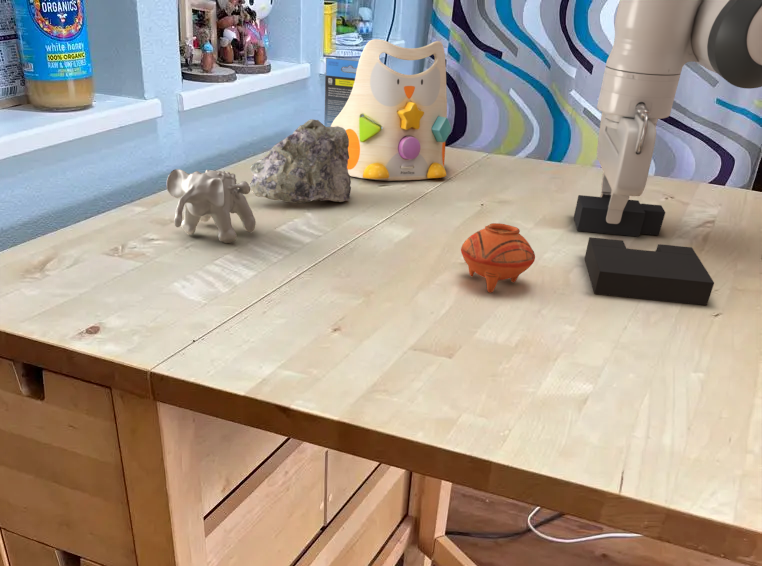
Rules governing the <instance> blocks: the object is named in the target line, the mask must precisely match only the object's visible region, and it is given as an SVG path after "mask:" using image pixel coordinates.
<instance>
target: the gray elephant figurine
mask: <svg viewBox="0 0 762 566" xmlns="http://www.w3.org/2000/svg"><path fill="white" fill-rule="evenodd" d="M166 190H167V192H168V194H169V195H170V196H172V197H173V198H175V199H179V200H178V202H177V205H176V208H175V213H174V219H173V222H174V226H175V227H176V228H181V229H182V231H183V232H184V233H185V234H187V235H188V236H189V235H190V236H191V235H194V233H196V230H197V226H198V224H199V222H202V223H206V222H209V221H210V220H211V218H212V220H213V222H214V224H215V226H216V228H217V231H218V233H217V238H218V240H219V241H220V242H222V244H223V243H224V244H231V243H233V242H235V241H236V239H237V236H238V235H237V233H236V231H235V230H234V227H233V224H232V218H231V214H236V215H237V216H238V217H239V219H240V222H241V223H242V227H243V228H244V230H245V231H246V232H247V233H253V232H254V231H255V228H256V225H257V224H256V223H257V222H256V218H255V216H254V214H253V211H252V208H251V207H250V205H249V202H248V200H247V198H246V196H245V195H248V194H249V193H250V192H251V188H250V183H248V181H246V180H245V181H243V180H242V181H240V183H237V178H236V174H235V173H231V172H230V171H225V170H211V169H206V170H205V171H204V172H203V173H202V172H200V171H198V170H196V171H194V172H191V173H188V172H187V171H185V170H183V169H180V168H176V169H175V168H174V169H173V170H171V171H170V173H169V174H168V176H167V179H166Z"/></svg>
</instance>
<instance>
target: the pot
mask: <svg viewBox="0 0 762 566" xmlns="http://www.w3.org/2000/svg"><path fill="white" fill-rule="evenodd" d="M520 232H521V230H520V228H518V227H516V226H513V225H509V224H505V223H500V222H498V223H497V222H495V223H494V222H493V223H489V224H488V225H485V226H484V228H482V229H480V230H478V231H476V232H474V233H473V234H471V235H470V236H468V238H466V239H465V241H464V242H463V243H462V245H461V247H460V252H461V255H462V258H463V260H464V261H465V263H466V265H467V267H468V272H469V273H468V274H469V276H470V277H471V278H473V277H474V276H475V274H476V275H479V276H480V277H482V278H484V279H485V282H486V289H487V292H488V293H491V294H492V293H493V292H494V291H495V289H496V286H497V285H498V282H499V281H504V280H509V279H510V282H512V283H516V282H517V279H518V278H519V276H520V275H521V274H522V273H524V272H525V271H527V270H528V269H529V268H530V267H531V266H532V265H533V264H534V262H535V260H536V253H535V251H534V249H533V248H532V246H531V245H530V243H529V242H528V240H527V239H526V238H525V237H524V236H523V235H522V234H520Z"/></svg>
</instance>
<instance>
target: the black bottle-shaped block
mask: <svg viewBox="0 0 762 566" xmlns="http://www.w3.org/2000/svg"><path fill="white" fill-rule="evenodd" d="M609 202H610V198H605V197H600V196H593V195H583V194H582V195H581V194H578V195H577V200H576V204H575V208H574V209H575V210H574V215H573V220H574V224H575V227H576V232H585V233H586V232H587V233H595V234H606V235H616V236H625V237H627V236H628V237H637V238H639V237H640V235H649V236H650V235H651V236H660V233H661V230H662V226H663V223H664V220H665V216H666V211H665V209H664V207H663V206H662V205H661V204H651V203H640V202H641V201H639V200H636V199H628V201H627V203H626V206H625V208H624V210H623V213H622V217H621V221H620V222H619V223H618V224H611V223H607V221H606V218H605V216H606V211H607V207H608V206H609Z"/></svg>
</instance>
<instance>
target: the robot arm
mask: <svg viewBox="0 0 762 566" xmlns="http://www.w3.org/2000/svg"><path fill="white" fill-rule="evenodd" d="M689 62H690V63H691V62H692V63H696V64H697V65H699V66H701V67H704V68H705V69H707V70H708V71H710V72H712V73H715V74H717V75H719V76H720V77H721V78H723V79H724V80H725V81H726V82H727V83H728V84H730V85H732V86H734V87H737V88H740V89H748V90H750V89H757V88H762V0H619V2H618V6H617V10H616V15H615V18H614V40H613V44H612V47H611V51H610V53H609V56H608V57H607V59H606V63H605V66H604V71H603V76H602V80H601V87H600V90H599V96H598V100H597V105H596V109H597V110H598V111H600V112H601V117H600V124H599V128H598V129H599V130H598V138H597V147H596V159H597V160H598V162H599V165H600V167H601V169H602V171H603V172H602V177H601V189H600V190H601V191H600V195H599V197H605V198H610V202H609V206H608V207H607V211H606V216H605V218H606V221H607V223H611V224H618V223H619V222H620V221H621V217H622V213H623V210H624V208H625V206H626V203H627V201H628V200H630V197H640V196H642V194H643V193H644V190H645V188H646V185H647V181H648V177H649V172H650V168H651V164H652V160H653V155H654V150H655V146H656V138H657V124H658V120H661V119H666V118H669V117H670V115H671V113H672V108H673V105H674V102H675V97H676V94H677V89H678V85H679V81H680V78H681V74H682V70H683V68H684V66H685V65H686V64H687V63H689Z"/></svg>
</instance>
